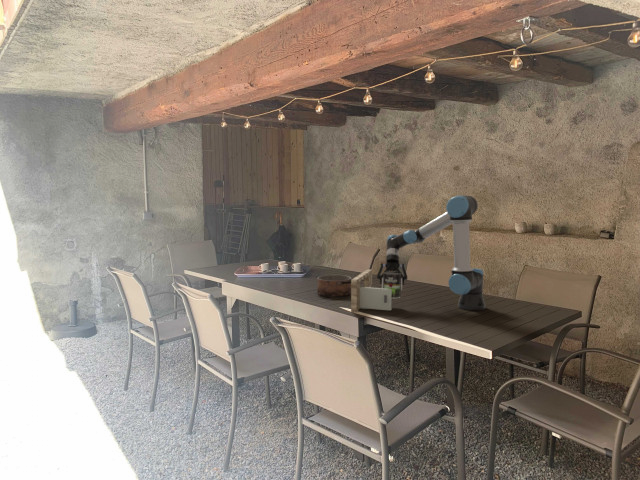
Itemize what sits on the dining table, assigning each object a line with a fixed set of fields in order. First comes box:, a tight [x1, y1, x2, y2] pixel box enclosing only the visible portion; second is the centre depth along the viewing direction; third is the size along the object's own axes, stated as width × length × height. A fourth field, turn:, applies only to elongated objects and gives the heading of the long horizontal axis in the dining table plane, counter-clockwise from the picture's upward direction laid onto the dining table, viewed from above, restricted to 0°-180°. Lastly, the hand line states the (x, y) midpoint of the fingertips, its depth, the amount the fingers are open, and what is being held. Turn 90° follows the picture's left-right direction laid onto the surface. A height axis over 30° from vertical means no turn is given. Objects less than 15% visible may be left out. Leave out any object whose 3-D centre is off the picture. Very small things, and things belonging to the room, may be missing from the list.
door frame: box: [350, 269, 373, 313], centre depth 275 cm, size 38×3×18 cm, turn 161°
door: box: [359, 286, 393, 311], centre depth 262 cm, size 20×3×12 cm, turn 71°
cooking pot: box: [316, 274, 352, 298], centre depth 306 cm, size 30×22×11 cm
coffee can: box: [382, 271, 402, 300], centre depth 266 cm, size 10×10×14 cm
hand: (391, 288), depth 263 cm, fingers closed on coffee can, 10 cm apart
